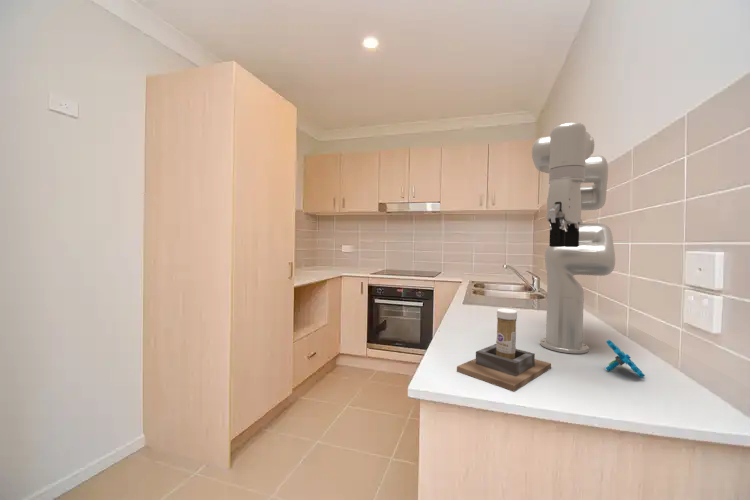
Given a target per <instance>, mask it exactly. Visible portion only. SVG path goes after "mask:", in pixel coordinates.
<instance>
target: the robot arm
mask: <svg viewBox="0 0 750 500" xmlns="http://www.w3.org/2000/svg"><path fill="white" fill-rule="evenodd" d="M594 152H595V139H594V138H593V136H591V134H590V133H589V132H588V131H587V129H586V126H585V125H584V123H581V122H576V121H575V122H565V123H562V124H558V125H556V126H555V127H553V128H552V129H551V131H550V135H549V136H542V137H539V138H537V139H536V140H534V143H533V144H532V147H531V158H532V162H533V165H534V166H535V168H536V170H537V171H539V172H540V173H544V174H545V173H546V174H548V184H549V187H548V195H547V198H546V221H547V222H548V223H549V245H548V246H547V247H546V248H545V251H544V261H545V262H544V263H545V269H546V280H547V281H546V285H547V287H546V321H545V322H546V327H545V328H546V329H545V330H546V331H545V337H543V338H541V339H540V340H539V343H540V345H541V346H542V347H543V348H545V349H548V350H552V351H555V352H560V353H563V354H564V353H565V354H576V355H577V354H586V353H588V352H589V346H588V345H587V344H586V343H583V337H584V336H583V333H584V327H583V326H584V299H585V298H584V297H585V294H584V293H585V291H584V288H583V286H582V284H581V283H580V282H579V281H578V280H577V279H576V278H575V277H574V276H596V277H599V276H600V277H601V276H608V275H610V274H612V273H613V271H614V269H615V266H616V254H615V253H616V252H615V248H614V247H615V246H614V240H613V238H614V237H613V233H612V230H611V228H610V226H608V225H607V224H605V223H604V224H603V223H598V222H595V223H594V222H593V223H590V222H589V223H588V222H587V223H583V220H582V211H596V210H600V209H602V208H603V207H604V206H605V204H606V200H607V192H608V191H607V190H608V177H609V165H608V161H607V159H606V157H604V156H602V155H599V154H597V155H593V154H594ZM589 183H592V184H589ZM581 184H589V185H581Z"/></svg>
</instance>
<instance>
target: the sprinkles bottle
mask: <svg viewBox="0 0 750 500" xmlns="http://www.w3.org/2000/svg"><path fill="white" fill-rule="evenodd" d="M496 319H497V324H496V326H497V327H496V330H497V331H496V340H495V341H496V343H495V344H496V351H497V352H496V355H497V356H501V357H504V358H508V359H512V360H513V359H515V349H517V348H516V346H517V345H516V341H517V340H516V339H517V338H516V337H517V331H516V330H517V319H518V311H517V310H515V309H512V308H498V309H497V310H496Z"/></svg>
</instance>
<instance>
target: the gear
mask: <svg viewBox="0 0 750 500" xmlns="http://www.w3.org/2000/svg"><path fill="white" fill-rule="evenodd" d="M605 343H607V345H608V346H609V348H611V349H612V350H613V352H614V353H615V354H616V356H615V357H614V358H615V359H614V360H612V361H610V362H609V363H608V365H607V366H606V367H605V370H607V372H610V371H612V370H614V369H616V368H617V367H619V366H623V365H624V364H625V365H627V366H629V368H630V369H631V370H632V371H633V372H634V373H635V374H637V376H639V377H640V379H642V378H644V377H645V376H646V374H644V373H643V371H642V370H641V369H640V368H639V367H638V366H637V365H636V363H635V362H633V361H632V360H631V356H630V355H629V354H627V353H625V352H624V351H623V350H621V349H620V348H619V347H618V346H617V345H615V343H614V342H612V340H611V339H608V340H607V341H606V342H605Z"/></svg>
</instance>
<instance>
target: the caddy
mask: <svg viewBox="0 0 750 500" xmlns="http://www.w3.org/2000/svg"><path fill="white" fill-rule="evenodd" d="M496 352H497V351H496V343H495V344H492V345H489V346H486V347H484V348H482V349H479V350H477V351H475V358H474V359H473V358H472V360H471V359H470V360H469V361H467V362H464V363H462V364H459V365H457V366H456V372H458V373H461V374H464V375H465V376H466V375H467V376H470V377H473V378H474V379H478V380H481V381H484V382H486V383H489V384H493V385H495V386H497V387H500V388H504V389H506V390H509V391H512V392H516V391H517V390H519V389H521V388H522V387H524V386H526V385H527V384H528V383H530V382H531V381H533V380H535V379H537V378H538V377H540V376H541V375H543V374H545V373H546V372H547V371H549V370H551V368H552V363H550V362H547V361H543V360H540V359H536V357H535V355H536V353H533V352H530V351H526V350H522V349H519V348H516V349H515V359H513V360H512V359H508V358H504V357H501V356H497V355H496ZM548 369H549V370H548Z"/></svg>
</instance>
